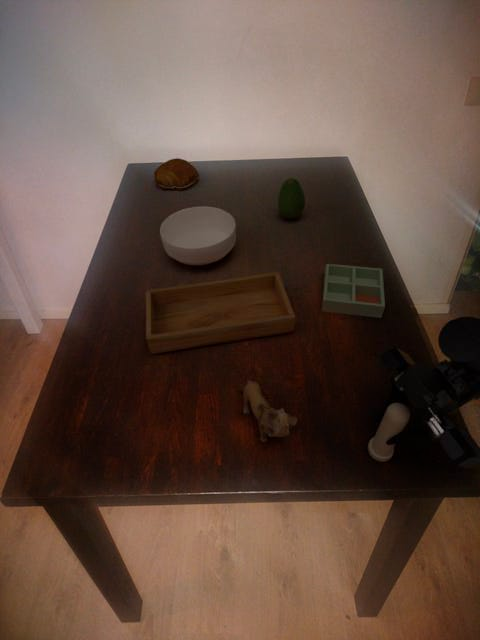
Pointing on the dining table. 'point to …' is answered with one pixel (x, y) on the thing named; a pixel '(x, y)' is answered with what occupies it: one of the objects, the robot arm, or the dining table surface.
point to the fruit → (291, 199)
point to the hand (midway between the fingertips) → (381, 433)
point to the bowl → (198, 235)
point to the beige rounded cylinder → (388, 431)
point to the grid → (353, 290)
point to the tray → (217, 312)
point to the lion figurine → (266, 413)
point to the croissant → (175, 174)
